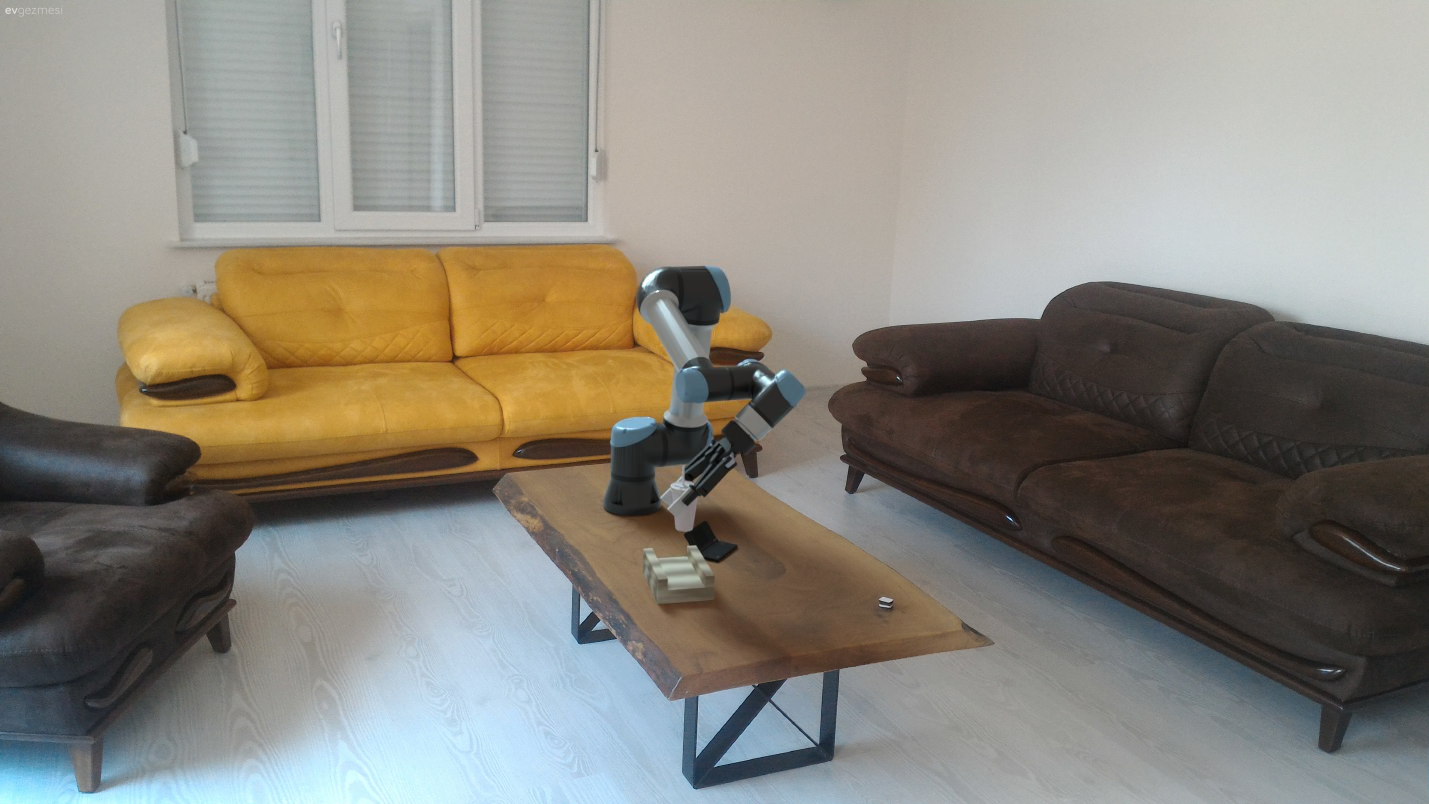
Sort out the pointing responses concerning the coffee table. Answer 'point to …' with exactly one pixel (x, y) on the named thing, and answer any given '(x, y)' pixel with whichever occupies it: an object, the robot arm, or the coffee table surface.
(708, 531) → the handheld gaming console
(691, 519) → the smoothie
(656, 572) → the tray
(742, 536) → the coffee table surface
